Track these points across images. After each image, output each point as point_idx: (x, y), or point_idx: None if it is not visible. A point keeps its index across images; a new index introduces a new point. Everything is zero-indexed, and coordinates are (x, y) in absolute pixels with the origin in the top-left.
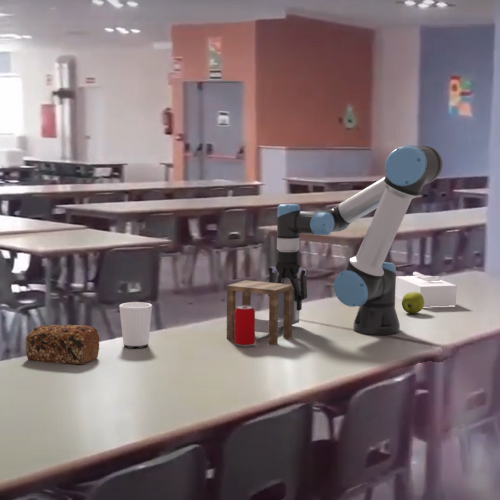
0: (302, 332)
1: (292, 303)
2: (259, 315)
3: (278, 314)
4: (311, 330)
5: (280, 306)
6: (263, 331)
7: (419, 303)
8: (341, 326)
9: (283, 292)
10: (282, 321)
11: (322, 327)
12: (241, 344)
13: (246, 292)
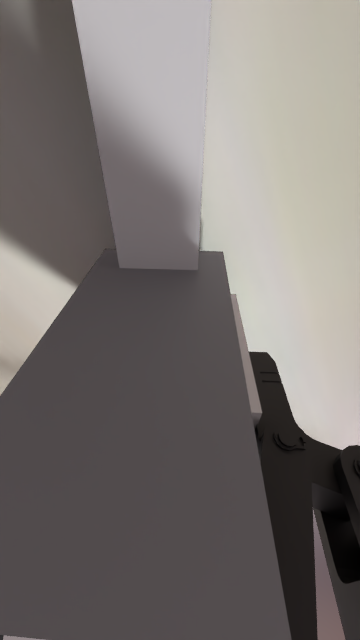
0: (11, 195)
1: (37, 362)
2: (357, 412)
3: (200, 282)
4: (21, 270)
5: (179, 326)
6: None
7: None
8: (5, 376)
9: (106, 508)
10: (101, 152)
11: (38, 341)
12: None
13: None
